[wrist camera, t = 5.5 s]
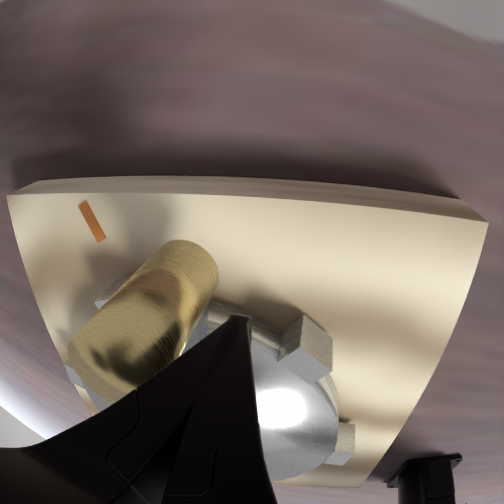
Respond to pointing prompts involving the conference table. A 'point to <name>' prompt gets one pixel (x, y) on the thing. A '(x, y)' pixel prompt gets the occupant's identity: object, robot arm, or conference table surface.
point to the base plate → (274, 273)
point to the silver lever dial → (195, 329)
